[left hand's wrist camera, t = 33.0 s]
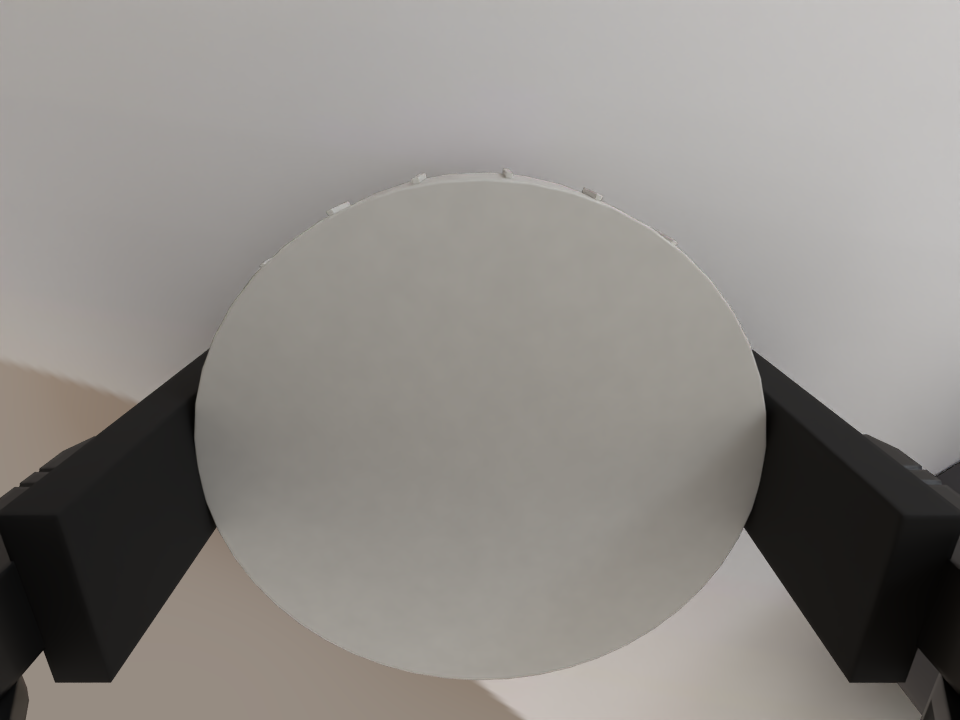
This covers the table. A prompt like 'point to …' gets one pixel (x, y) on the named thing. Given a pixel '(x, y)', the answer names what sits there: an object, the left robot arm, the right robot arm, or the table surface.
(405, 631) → the lid
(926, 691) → the jar
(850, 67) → the table surface
